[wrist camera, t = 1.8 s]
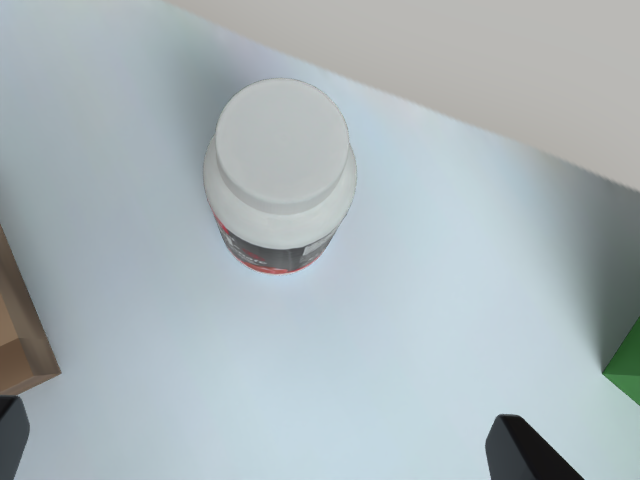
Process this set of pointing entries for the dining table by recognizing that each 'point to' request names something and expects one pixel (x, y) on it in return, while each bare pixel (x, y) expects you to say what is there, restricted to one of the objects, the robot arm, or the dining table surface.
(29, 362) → the socket block
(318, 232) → the pill bottle
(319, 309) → the dining table surface
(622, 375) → the hardback book
